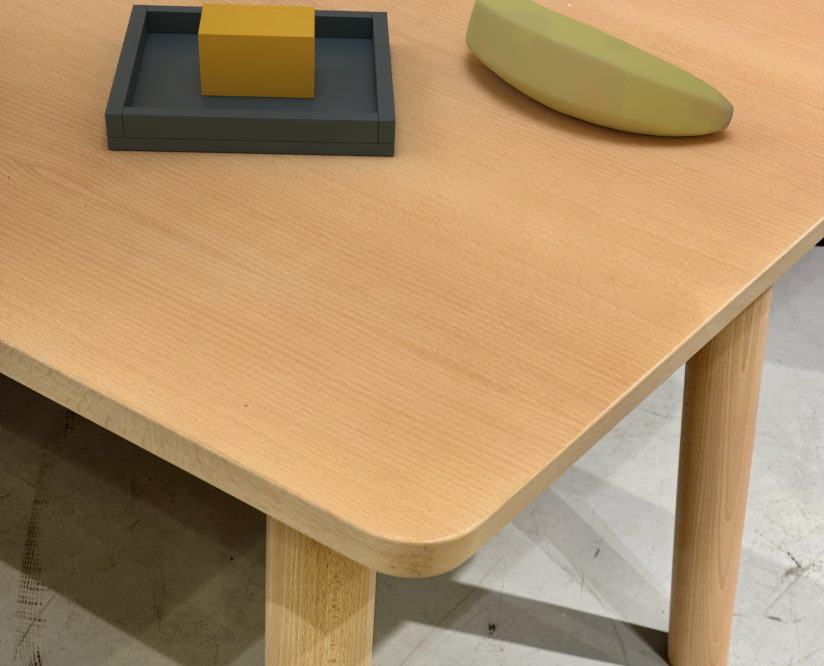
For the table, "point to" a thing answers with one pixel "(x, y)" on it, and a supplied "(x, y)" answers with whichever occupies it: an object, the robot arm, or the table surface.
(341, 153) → the tray
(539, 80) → the banana
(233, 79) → the yellow block
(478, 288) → the table surface
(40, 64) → the table surface
